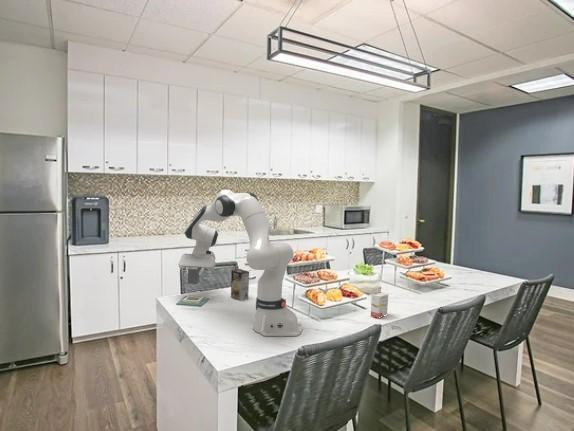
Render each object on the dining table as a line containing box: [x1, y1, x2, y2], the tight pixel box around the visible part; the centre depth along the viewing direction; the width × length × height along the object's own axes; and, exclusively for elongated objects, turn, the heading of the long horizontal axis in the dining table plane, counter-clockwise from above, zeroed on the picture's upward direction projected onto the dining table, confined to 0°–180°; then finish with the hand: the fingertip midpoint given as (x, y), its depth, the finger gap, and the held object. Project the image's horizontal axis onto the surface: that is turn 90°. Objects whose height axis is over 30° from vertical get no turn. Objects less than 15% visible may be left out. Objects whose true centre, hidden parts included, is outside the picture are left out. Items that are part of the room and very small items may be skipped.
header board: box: [175, 295, 211, 307], centre depth 203 cm, size 14×14×2 cm
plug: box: [187, 267, 201, 285], centre depth 203 cm, size 5×4×8 cm
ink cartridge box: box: [370, 286, 389, 319], centre depth 190 cm, size 9×5×15 cm, turn 135°
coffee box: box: [230, 268, 250, 302], centre depth 212 cm, size 9×6×16 cm
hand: (193, 275), depth 202 cm, fingers closed on plug, 5 cm apart
